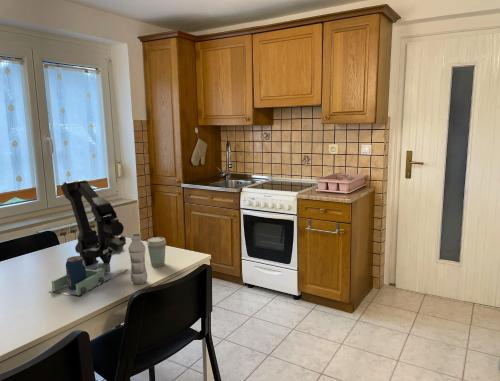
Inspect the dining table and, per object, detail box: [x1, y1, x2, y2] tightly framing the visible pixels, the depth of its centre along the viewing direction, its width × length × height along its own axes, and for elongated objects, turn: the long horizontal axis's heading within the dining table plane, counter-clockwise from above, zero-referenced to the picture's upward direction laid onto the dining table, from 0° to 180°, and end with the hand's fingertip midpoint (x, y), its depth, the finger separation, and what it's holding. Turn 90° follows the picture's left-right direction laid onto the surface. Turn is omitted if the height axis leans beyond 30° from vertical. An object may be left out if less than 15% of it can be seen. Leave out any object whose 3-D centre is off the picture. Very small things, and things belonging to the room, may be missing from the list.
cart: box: [51, 262, 112, 295], centre depth 160 cm, size 15×23×4 cm, turn 161°
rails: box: [49, 266, 128, 298], centre depth 162 cm, size 15×29×1 cm, turn 161°
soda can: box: [65, 255, 87, 291], centre depth 154 cm, size 7×7×12 cm
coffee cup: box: [146, 236, 167, 268], centre depth 177 cm, size 8×8×12 cm
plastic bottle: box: [128, 233, 148, 285], centre depth 157 cm, size 6×7×20 cm
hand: (107, 266), depth 171 cm, fingers closed
